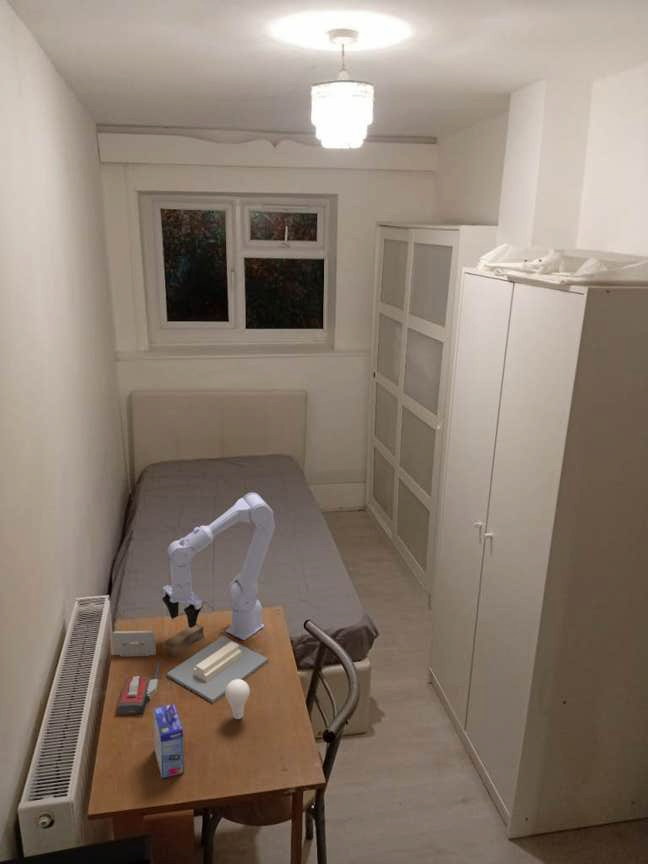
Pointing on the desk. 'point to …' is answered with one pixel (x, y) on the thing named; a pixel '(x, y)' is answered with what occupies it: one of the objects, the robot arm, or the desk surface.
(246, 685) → the lightbulb
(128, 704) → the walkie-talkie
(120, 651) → the cassette
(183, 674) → the ridge stand
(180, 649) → the walnut bar
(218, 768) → the desk surface
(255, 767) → the desk surface
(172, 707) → the ink cartridge box
